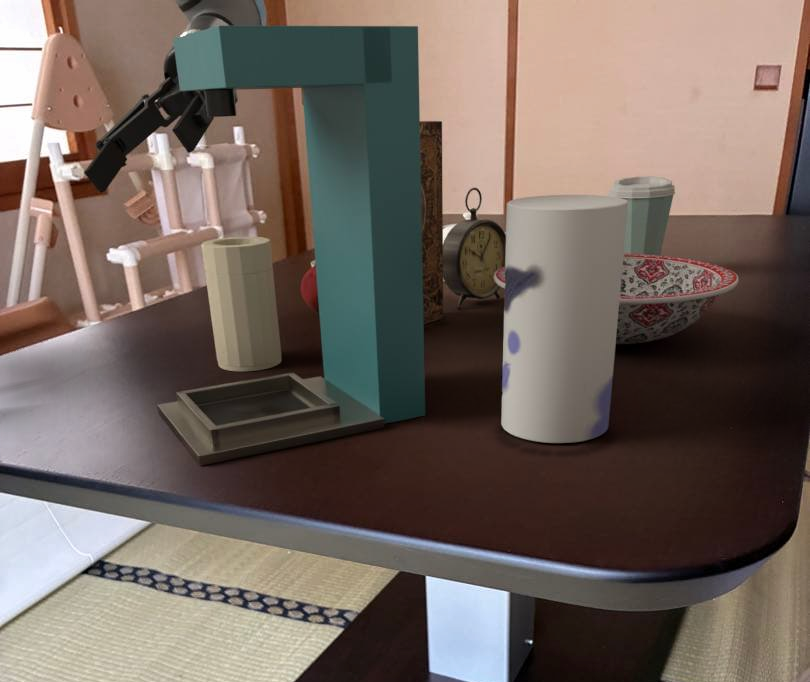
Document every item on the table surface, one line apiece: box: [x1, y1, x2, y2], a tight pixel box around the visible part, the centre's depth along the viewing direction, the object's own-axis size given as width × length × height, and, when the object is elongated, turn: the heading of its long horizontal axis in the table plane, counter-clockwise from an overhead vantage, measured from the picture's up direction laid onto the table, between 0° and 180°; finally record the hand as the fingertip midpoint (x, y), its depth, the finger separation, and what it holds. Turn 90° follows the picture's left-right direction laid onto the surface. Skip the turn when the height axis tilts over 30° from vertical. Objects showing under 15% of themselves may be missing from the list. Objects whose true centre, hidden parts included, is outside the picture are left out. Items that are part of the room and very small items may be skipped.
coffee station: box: [157, 25, 426, 467], centre depth 76 cm, size 16×23×33 cm
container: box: [500, 194, 628, 444], centre depth 75 cm, size 10×10×20 cm
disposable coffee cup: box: [608, 175, 676, 256], centre depth 139 cm, size 11×11×15 cm
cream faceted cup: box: [200, 236, 282, 373], centre depth 98 cm, size 8×8×14 cm
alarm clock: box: [443, 187, 506, 310], centre depth 122 cm, size 11×5×16 cm, turn 131°
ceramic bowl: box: [494, 254, 739, 345], centre depth 105 cm, size 29×29×8 cm
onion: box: [300, 263, 319, 315], centre depth 121 cm, size 6×6×8 cm
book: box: [420, 120, 444, 325], centre depth 110 cm, size 16×6×25 cm, turn 137°
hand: (136, 162), depth 91 cm, fingers open, 13 cm apart
